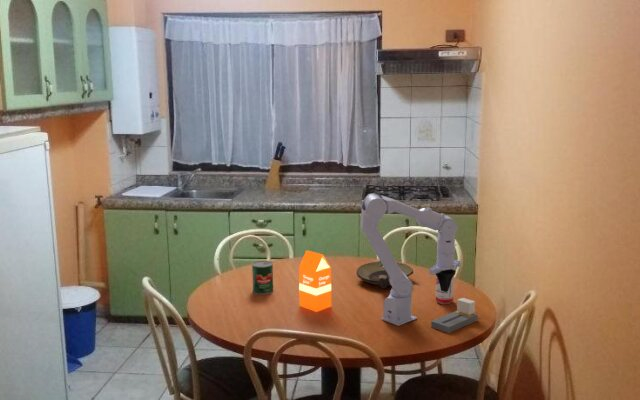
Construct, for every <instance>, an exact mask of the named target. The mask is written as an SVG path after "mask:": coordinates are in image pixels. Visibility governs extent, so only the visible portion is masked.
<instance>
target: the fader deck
mask: <svg viewBox="0 0 640 400" xmlns="http://www.w3.org/2000/svg"><path fill="white" fill-rule="evenodd" d="M478 319H479V315H478V314H477V313H476V312H475V313H473V314H470V315H468V314H465V313H462V312H459V311H457V310H455V311H453V312H450V313H448V314H445V315H443V316H440V317H438V318H436V319H432V320H431V322H430V325H431V326H430V327H431V328H433V329H436V330H439V331H441V332H444V333H447V334H450V333H452V332H454V331H456V330H460V329H461V328H463V327H465V326H468V325H469V324H473V323H475V322H476V321H478Z"/></svg>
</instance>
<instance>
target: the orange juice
mask: <svg viewBox="0 0 640 400" xmlns="http://www.w3.org/2000/svg"><path fill="white" fill-rule="evenodd" d="M298 281H299V283H298V293H299V307H302V308H304V309H307V310H311V311H313V312H315V313H317V312H320V311H322V310H326V309H328V308H331V307H332V267H331V266H330V264H329V262H328V261H327V259H326V258H325V256H324V254H322V253H318V252H315V251H312V250H305V253H304V254H303V257H302V259H301V262H300V264H299V266H298Z"/></svg>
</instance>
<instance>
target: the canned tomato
mask: <svg viewBox="0 0 640 400" xmlns="http://www.w3.org/2000/svg"><path fill="white" fill-rule="evenodd" d="M251 266H252V267H251V269H252V271H251V272H252V293H254V294H255V295H260V296H261V295H262V296H263V295H269V294H272V293H273V292H274V270H273V269H274V267H273V266H274V264H273V262H272V261H270V260H269V261H268V260H260V261H259V260H258V261H254V262H252V264H251Z"/></svg>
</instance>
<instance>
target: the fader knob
mask: <svg viewBox="0 0 640 400" xmlns="http://www.w3.org/2000/svg"><path fill="white" fill-rule="evenodd" d="M456 303H457V304H456V311H459V312H462V313H465V314H468V315H470V314H473V313H475V314H476V312H475V311H476V301H475V300H472V299H469V298H465V297H461V298H458V299H457V300H456Z"/></svg>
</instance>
